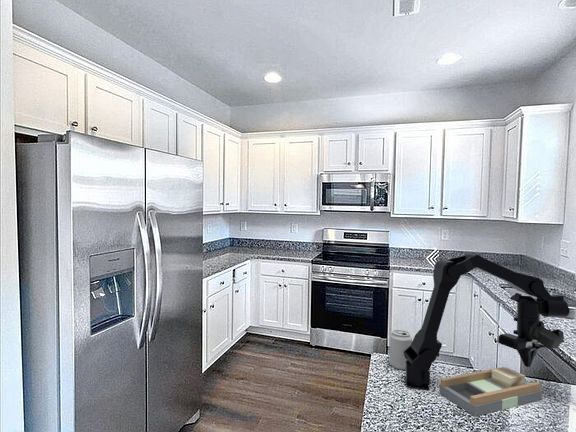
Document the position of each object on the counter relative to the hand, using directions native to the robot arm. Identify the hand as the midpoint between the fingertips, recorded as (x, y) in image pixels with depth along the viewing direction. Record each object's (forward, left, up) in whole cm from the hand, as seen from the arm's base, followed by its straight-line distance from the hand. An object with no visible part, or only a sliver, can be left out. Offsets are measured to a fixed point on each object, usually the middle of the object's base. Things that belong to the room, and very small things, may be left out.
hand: (527, 366), depth 101 cm
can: (-37, +4, -7) cm, 38 cm away
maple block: (-7, -5, -4) cm, 9 cm away
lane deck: (-13, -9, -7) cm, 17 cm away
